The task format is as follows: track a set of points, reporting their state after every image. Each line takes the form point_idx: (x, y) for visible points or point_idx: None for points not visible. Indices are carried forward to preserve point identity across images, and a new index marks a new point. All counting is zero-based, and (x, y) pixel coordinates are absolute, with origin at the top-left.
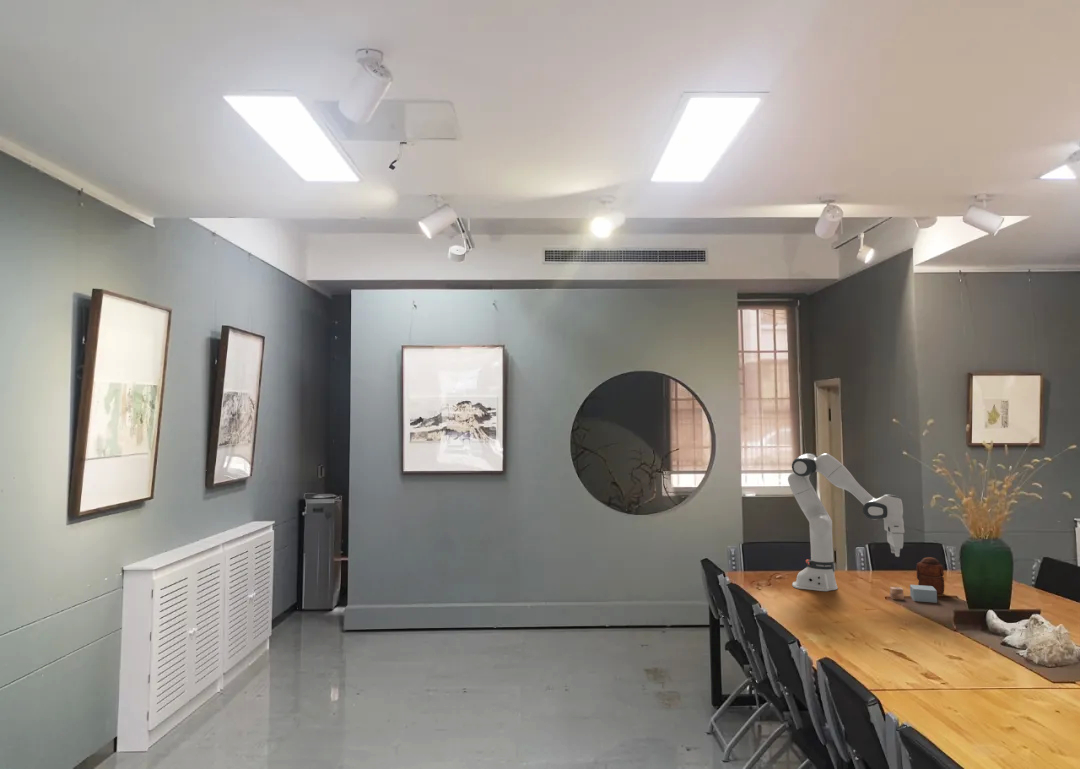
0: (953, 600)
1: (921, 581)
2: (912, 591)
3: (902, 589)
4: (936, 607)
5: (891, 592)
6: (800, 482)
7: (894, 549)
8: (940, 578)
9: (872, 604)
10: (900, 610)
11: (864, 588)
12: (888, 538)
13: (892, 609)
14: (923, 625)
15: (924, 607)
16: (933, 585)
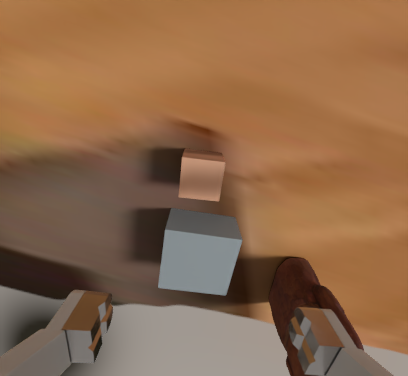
0: (200, 299)
1: (295, 287)
2: (189, 224)
3: (180, 195)
4: (104, 241)
5: (197, 154)
6: None
7: (328, 373)
8: (284, 340)
9: (62, 31)
10: (9, 121)
11: (352, 90)
12: None
13: (10, 95)
14: None
15: (91, 211)
16: (279, 303)
